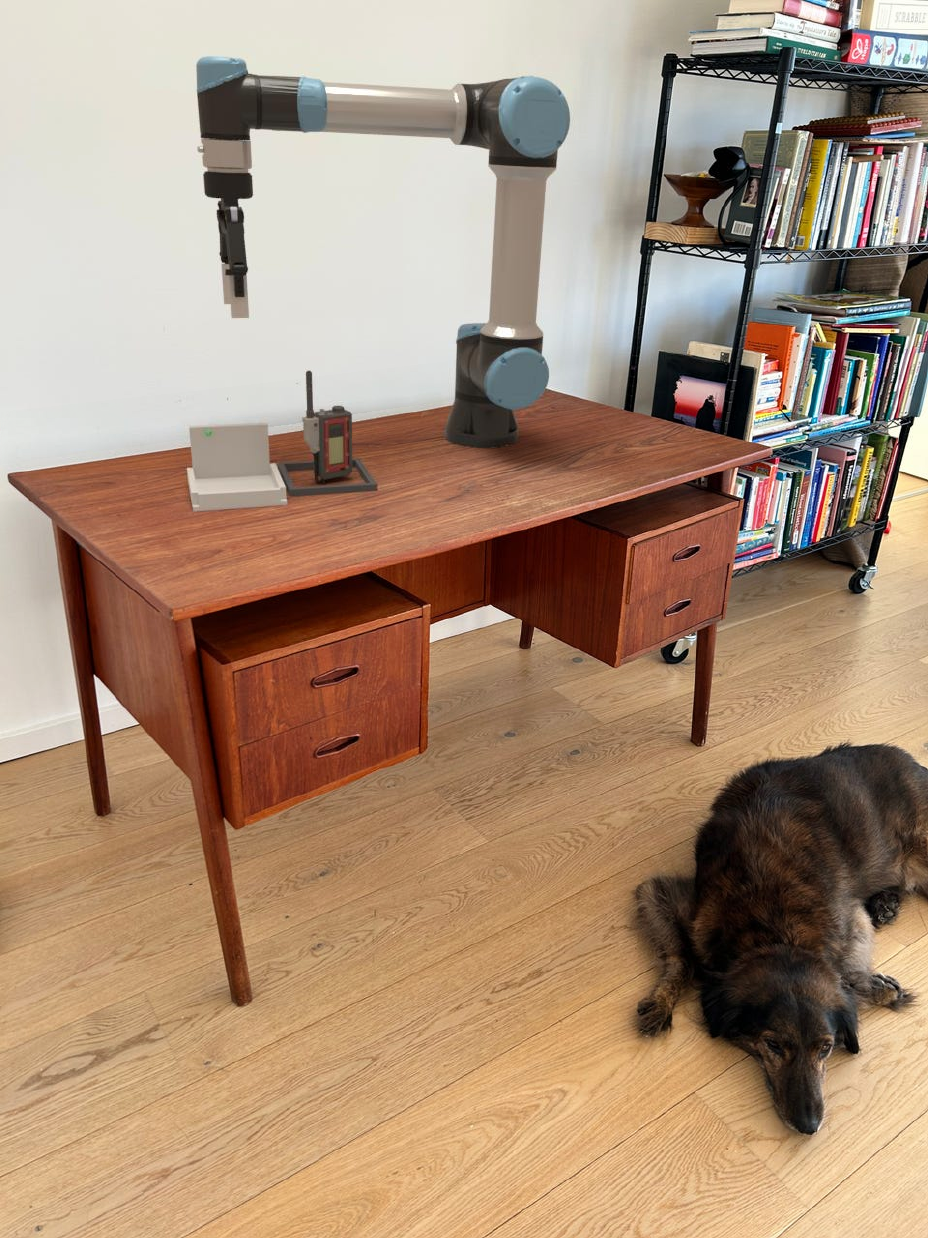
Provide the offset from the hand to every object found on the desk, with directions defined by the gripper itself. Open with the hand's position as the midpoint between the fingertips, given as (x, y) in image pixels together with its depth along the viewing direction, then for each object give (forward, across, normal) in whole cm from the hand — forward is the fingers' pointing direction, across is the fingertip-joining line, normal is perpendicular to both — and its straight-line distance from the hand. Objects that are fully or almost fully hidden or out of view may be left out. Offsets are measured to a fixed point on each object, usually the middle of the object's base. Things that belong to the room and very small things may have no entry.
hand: (236, 310), depth 161 cm
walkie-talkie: (+28, +8, +13) cm, 32 cm away
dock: (+28, +12, -3) cm, 30 cm away
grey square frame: (+28, +8, +13) cm, 32 cm away
